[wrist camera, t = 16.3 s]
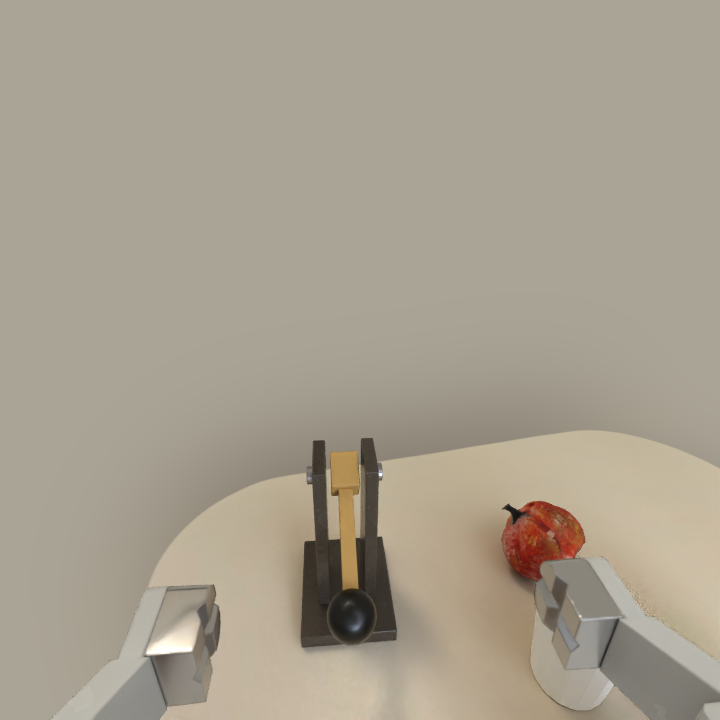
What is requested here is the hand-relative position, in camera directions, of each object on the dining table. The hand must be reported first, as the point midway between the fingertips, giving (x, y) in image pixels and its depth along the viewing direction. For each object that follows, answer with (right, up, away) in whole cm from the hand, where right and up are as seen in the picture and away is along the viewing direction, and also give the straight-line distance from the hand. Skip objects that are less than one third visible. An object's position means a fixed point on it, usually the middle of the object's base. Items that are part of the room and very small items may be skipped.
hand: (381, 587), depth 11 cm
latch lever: (-2, -9, +23) cm, 25 cm away
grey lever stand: (-2, -16, +31) cm, 35 cm away
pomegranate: (+17, -15, +34) cm, 41 cm away
